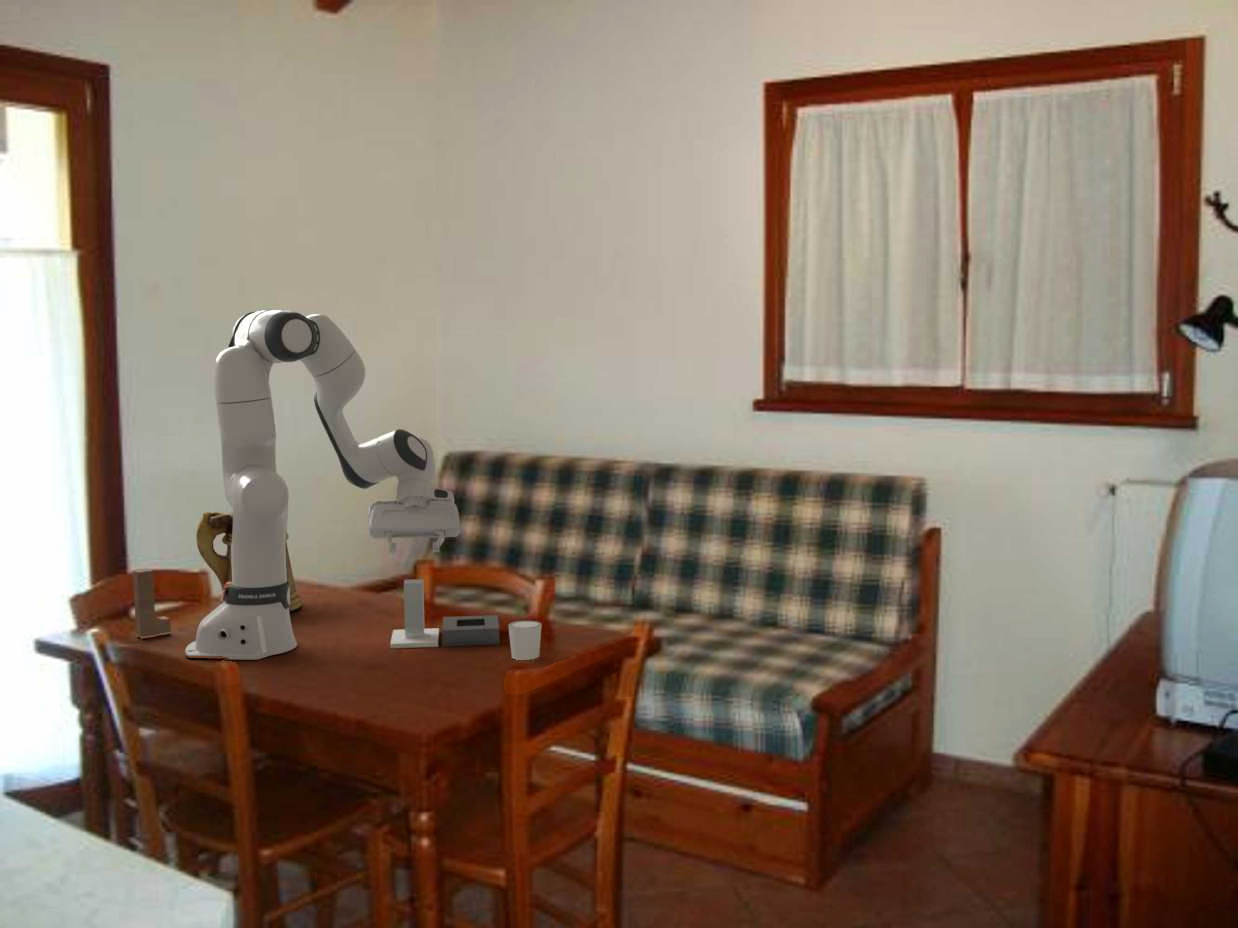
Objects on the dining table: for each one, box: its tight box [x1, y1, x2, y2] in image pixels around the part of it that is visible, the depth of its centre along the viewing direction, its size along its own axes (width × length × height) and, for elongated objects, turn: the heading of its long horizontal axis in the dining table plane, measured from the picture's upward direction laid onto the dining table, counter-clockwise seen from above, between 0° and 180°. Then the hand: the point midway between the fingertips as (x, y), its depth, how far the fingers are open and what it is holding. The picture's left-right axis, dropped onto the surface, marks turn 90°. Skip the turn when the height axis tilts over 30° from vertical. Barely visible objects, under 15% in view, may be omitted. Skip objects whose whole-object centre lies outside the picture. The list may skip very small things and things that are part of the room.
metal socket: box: [442, 614, 501, 647], centre depth 268 cm, size 12×12×4 cm
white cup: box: [507, 620, 542, 661], centre depth 253 cm, size 7×7×7 cm
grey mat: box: [389, 627, 440, 649], centre depth 267 cm, size 10×12×1 cm
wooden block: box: [132, 567, 172, 636], centre depth 271 cm, size 7×3×15 cm, turn 131°
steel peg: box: [403, 578, 425, 638], centre depth 266 cm, size 4×4×12 cm
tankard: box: [196, 510, 302, 613], centre depth 293 cm, size 18×24×25 cm
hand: (414, 551), depth 273 cm, fingers open, 8 cm apart
